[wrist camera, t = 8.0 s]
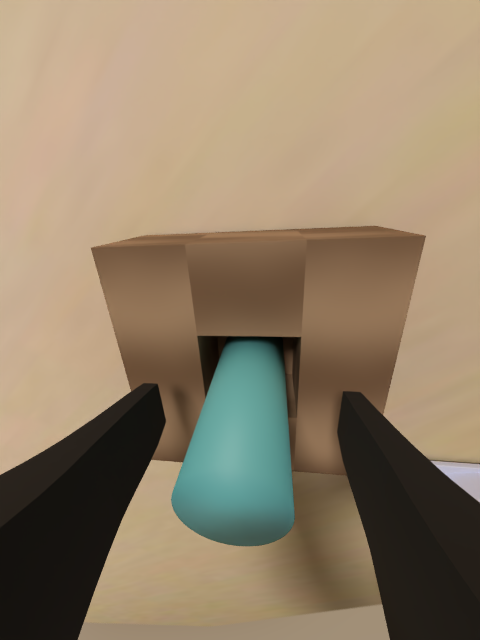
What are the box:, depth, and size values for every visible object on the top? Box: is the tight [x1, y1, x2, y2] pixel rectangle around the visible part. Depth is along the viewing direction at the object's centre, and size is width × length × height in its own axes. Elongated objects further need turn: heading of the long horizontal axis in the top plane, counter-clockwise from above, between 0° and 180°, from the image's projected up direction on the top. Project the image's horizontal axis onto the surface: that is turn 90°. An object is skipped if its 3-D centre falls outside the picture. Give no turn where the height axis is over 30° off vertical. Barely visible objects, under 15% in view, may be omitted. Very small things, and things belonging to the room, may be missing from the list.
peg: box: [171, 336, 295, 546], centre depth 11 cm, size 3×3×9 cm
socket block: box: [91, 226, 426, 475], centre depth 14 cm, size 12×12×4 cm
